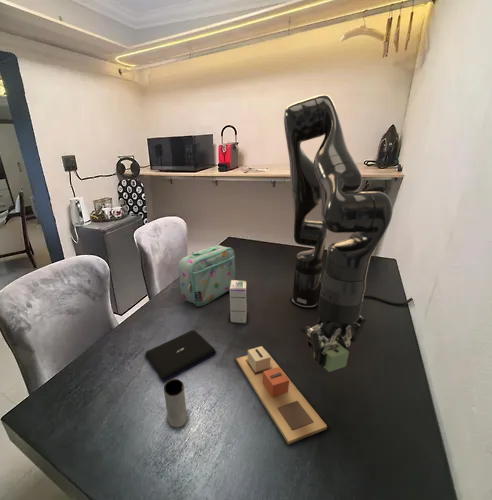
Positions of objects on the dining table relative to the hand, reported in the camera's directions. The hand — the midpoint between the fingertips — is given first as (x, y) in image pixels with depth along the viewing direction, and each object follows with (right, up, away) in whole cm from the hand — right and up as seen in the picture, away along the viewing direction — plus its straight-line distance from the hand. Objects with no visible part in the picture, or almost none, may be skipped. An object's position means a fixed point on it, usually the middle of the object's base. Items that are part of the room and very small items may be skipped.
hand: (329, 360), depth 58 cm
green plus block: (0, 0, 0) cm, 0 cm away
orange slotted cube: (-9, -11, +10) cm, 17 cm away
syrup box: (-13, -1, +39) cm, 42 cm away
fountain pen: (+10, -5, +25) cm, 28 cm away
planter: (-34, -16, +5) cm, 38 cm away
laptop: (-34, -9, +24) cm, 43 cm away
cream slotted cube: (-11, -8, +17) cm, 22 cm away
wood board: (-9, -12, +10) cm, 18 cm away
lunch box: (-23, +5, +55) cm, 60 cm away
